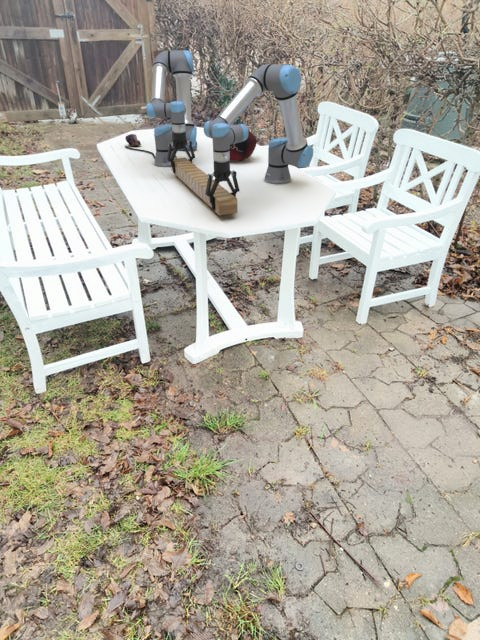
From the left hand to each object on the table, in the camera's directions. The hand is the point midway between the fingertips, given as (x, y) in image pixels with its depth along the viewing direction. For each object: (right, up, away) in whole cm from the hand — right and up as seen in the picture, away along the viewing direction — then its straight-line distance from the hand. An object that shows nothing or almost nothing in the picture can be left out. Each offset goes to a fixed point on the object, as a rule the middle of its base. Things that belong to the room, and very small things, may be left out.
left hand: (182, 171), depth 267 cm
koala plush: (-6, +36, +59) cm, 70 cm away
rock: (-45, +41, +67) cm, 90 cm away
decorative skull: (+33, +19, +34) cm, 51 cm away
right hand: (+26, -34, -50) cm, 66 cm away
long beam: (+13, -18, -25) cm, 33 cm away
